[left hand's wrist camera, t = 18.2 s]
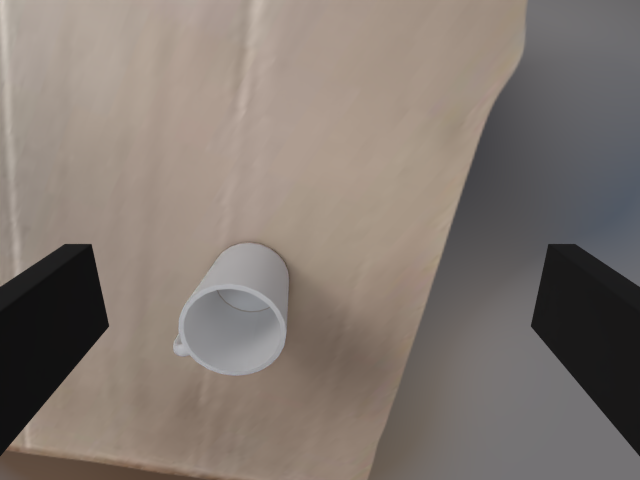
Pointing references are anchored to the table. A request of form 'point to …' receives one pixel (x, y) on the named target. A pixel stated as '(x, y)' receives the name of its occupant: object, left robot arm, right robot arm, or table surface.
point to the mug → (237, 312)
